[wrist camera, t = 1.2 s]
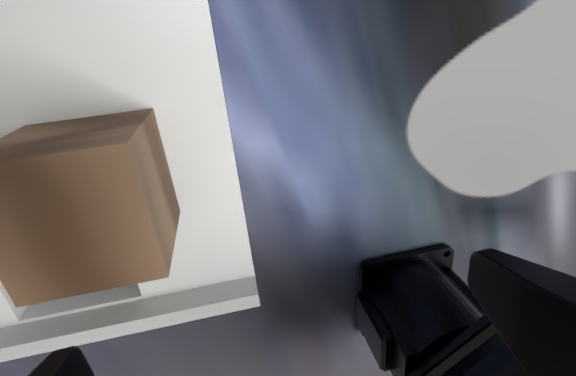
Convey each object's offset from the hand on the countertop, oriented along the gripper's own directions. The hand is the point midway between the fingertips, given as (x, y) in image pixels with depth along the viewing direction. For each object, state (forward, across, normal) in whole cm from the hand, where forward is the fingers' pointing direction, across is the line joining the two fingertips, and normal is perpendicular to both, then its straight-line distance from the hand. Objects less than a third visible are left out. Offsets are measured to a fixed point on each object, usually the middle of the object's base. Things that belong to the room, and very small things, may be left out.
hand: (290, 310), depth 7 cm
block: (+10, +6, 0) cm, 12 cm away
